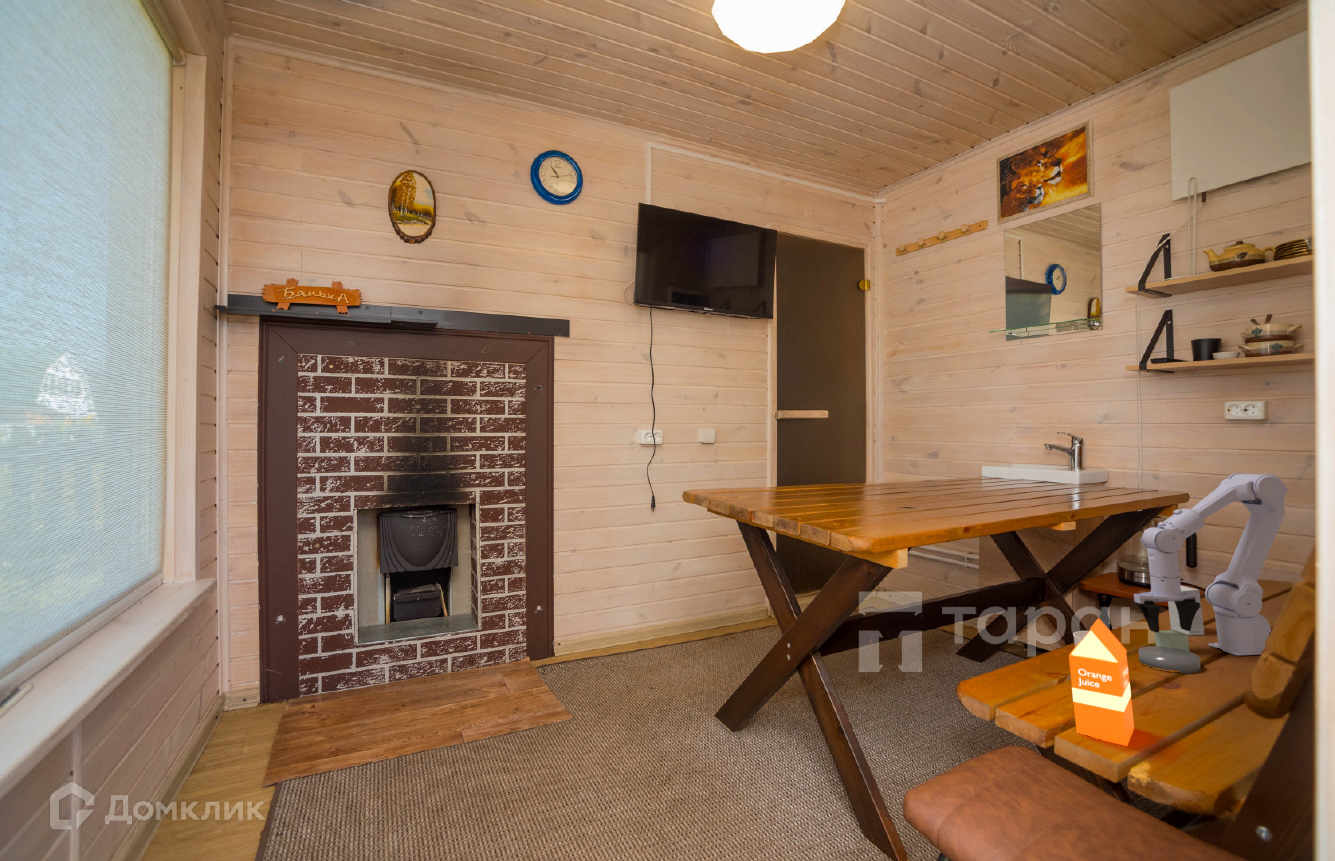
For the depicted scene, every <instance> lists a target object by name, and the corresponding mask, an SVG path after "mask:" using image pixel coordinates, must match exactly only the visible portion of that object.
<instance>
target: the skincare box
mask: <svg viewBox="0 0 1335 861" xmlns="http://www.w3.org/2000/svg"><path fill="white" fill-rule="evenodd" d="M1180 587H1181V591H1194V592H1197V593H1199V594H1200V589H1197V588H1193V587H1189V586H1185V585H1181V584H1180ZM1200 595H1201V594H1200ZM1195 602H1198V603H1200V608H1199V609H1198V611H1197V612H1196V614H1195V616H1194V619H1193V622H1192V626H1191V631H1186V630H1184V629H1181V626H1180V621H1179V614H1178V610H1177V607H1176V605H1175V602H1174V601H1167V604H1168V613H1169V615H1168V616H1169V622H1170V630H1173V631H1176V632H1179V633H1182V634H1184V635H1187V636H1200V635H1201V636H1202V635H1205V628H1204V619H1203V610H1202V609H1203V608H1202V603H1201V600H1200V601H1195Z"/></svg>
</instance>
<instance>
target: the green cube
mask: <svg viewBox="0 0 1335 861" xmlns="http://www.w3.org/2000/svg"><path fill="white" fill-rule="evenodd" d="M1154 637H1155V638H1154V640H1155V646H1159V647H1170V648H1176V649H1181V650H1185V651H1189V652H1190V646H1189V645H1190V644H1189V635H1187V634H1184V633H1181V632H1178V631H1175V630H1172V629H1170V630H1159V632H1154Z"/></svg>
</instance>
